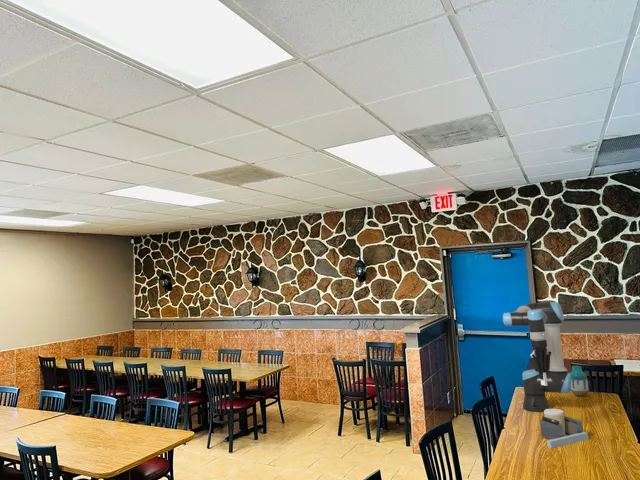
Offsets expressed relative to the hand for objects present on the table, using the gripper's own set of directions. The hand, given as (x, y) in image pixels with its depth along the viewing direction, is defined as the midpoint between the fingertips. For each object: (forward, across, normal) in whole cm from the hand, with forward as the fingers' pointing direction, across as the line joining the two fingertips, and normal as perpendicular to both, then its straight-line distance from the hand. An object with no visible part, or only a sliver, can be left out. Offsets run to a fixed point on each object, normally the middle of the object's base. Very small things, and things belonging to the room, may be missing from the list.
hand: (544, 385), depth 227 cm
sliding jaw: (+24, -6, -7) cm, 26 cm away
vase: (+27, +73, +44) cm, 89 cm away
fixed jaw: (+25, +6, -7) cm, 26 cm away
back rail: (+24, -4, -14) cm, 28 cm away
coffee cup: (+25, 0, -4) cm, 25 cm away
